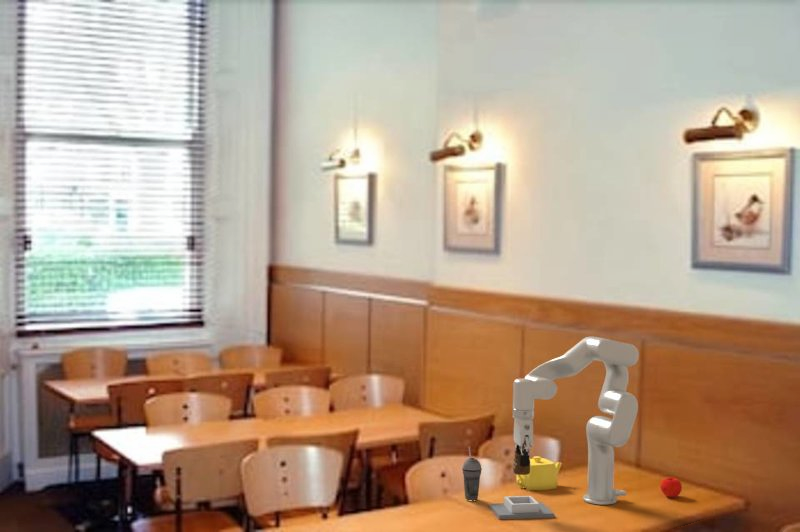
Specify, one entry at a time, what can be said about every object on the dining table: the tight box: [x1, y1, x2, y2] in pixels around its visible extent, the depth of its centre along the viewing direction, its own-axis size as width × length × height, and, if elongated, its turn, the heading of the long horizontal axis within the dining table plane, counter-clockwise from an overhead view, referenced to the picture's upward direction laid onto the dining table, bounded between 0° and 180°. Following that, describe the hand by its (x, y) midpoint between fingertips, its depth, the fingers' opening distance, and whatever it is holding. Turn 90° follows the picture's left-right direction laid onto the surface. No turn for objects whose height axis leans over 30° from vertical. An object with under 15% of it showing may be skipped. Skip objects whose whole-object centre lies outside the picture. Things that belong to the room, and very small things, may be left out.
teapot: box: [515, 455, 563, 491], centre depth 382 cm, size 20×12×12 cm, turn 109°
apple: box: [659, 477, 683, 499], centre depth 370 cm, size 8×8×7 cm
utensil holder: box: [512, 444, 531, 475], centre depth 345 cm, size 6×6×12 cm
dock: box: [488, 495, 555, 520], centre depth 346 cm, size 20×14×4 cm
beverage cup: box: [461, 445, 483, 502], centre depth 361 cm, size 7×7×20 cm
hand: (521, 463), depth 345 cm, fingers closed on utensil holder, 5 cm apart
